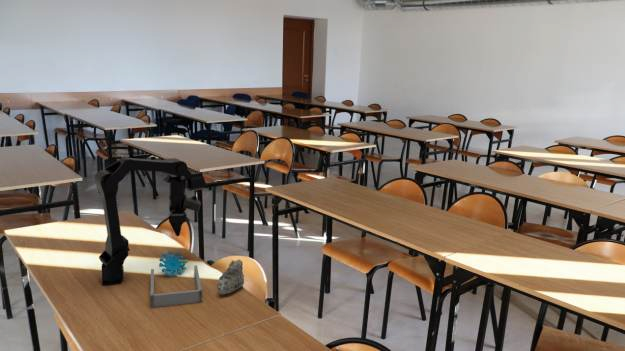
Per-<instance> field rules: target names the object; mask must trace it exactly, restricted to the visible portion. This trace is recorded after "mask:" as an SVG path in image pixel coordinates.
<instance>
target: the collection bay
mask: <svg viewBox="0 0 625 351" xmlns="http://www.w3.org/2000/svg"><path fill="white" fill-rule="evenodd" d="M193 267H194V268H193V274H194V275H193V276H194V281H195V288H196V290H195V289H194V290H183V291H174V292H163V293H155V269H154V268H151V269H150V291H149V292H150V296H149V297H150V308H158V307H168V306H170V307H171V306H178V305H188V304H195V303H203V289H202V283H201V279H200V274H199V269H198V265H197V264H196V265H194V266H193Z"/></svg>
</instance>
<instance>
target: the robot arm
mask: <svg viewBox="0 0 625 351" xmlns="http://www.w3.org/2000/svg"><path fill="white" fill-rule="evenodd" d="M130 171H140V172H141V171H144V172H158V173H165V174H167V176H166V177H165V178H163V182H165V183H167V184H168V187H169V191H168V192H169V198H168V199H169V202H168V210H169V213H168V223H169V224H170V226H171V228H172V230H173V232H174V235H175V236H176V237H180V234H181V230H182V226H183V224H184V223H186V222H187V221H188V220H187V219H188V218H187V212H186V211H187V209H188V210H190V211H194V212H196V213H198V212H199V210H200V207H201V205H202V203H201V201H200V200H199V199H198V196H196V195H194V194H193V195H192V196H191V197H187V194H186V190H187V191H189V192H191V191H198V190H204V189H205V188H206V185H207V184H206V183H207V182H206V180H205V177H204V173H203V172H201V171H196V172H191V171H190V170H189V168H188V164H187V163H186V162H185V161H184V160H180V158H179V159H178V158H176V157H173V158H172V157H171V158H165V159H160V160H159V159H145V158H134V157H133V158H132V157H127V156H123V157H121V158H120V159H118V160H117V161H115V162H114V163H112V164H110V165H109V166H107V167H105V168H104V169H101V170H99V171H97V172H96V173H95V174H94V177H93V178H94V183H95V186H96V188H97V191H98V193H99V194H100V197H101V200H102V206H103V208H102V209H103V213H104V214H103V215H104V220H105V221H104V222H105V226H106V227H105V228H106V233H107V237H106V239H105V245H104V246H105V248H104V250H103V252H102V253H101V254H100V255H99V256H98V259H99V260H100V262H101V263H102V264H101V268H100V269H101V279H102V280H101V285H102V286H106V285H107V286H108V285H117V284H122V283H123V280H124V278H125V271H124V269H125V268H124V263H125V261H126V259H127V257H128V256H129V252H130V251H131V250H130V247H129V244H130V243H129V239H127V238H126V236H124V235H122V231H121V224H120V217H119V209H118V202H117V195H118V191H119V183H120V182H122V180H123V181H124V179H125V177H126V176H127V175H128V173H129V172H130Z"/></svg>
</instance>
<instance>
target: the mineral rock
mask: <svg viewBox="0 0 625 351" xmlns="http://www.w3.org/2000/svg"><path fill="white" fill-rule="evenodd" d="M243 264H244V263H243V261H242V260H241V259H236V260H231V262H230V263H229V264H228V267H227V268H226V270H225V271H224V272H223V273H222V274H221V275H220V276H219V278H218V280H217V282H216V287H217V292H218V293H219V294H220V295H225V294H230V293H233V292H234V291H237V290H238V289H240V288H241V287H242V286H244V284H245V275H244V273H243V268H244V267H243Z"/></svg>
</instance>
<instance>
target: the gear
mask: <svg viewBox="0 0 625 351" xmlns="http://www.w3.org/2000/svg"><path fill="white" fill-rule="evenodd" d="M172 254H173V251H172V250H169V251H168V253H167V252H164V253H162V256H161V257H160V258H159V259H158V260H159V264H158V266H159V268H162V267H163V268H162V269H161V272H162V273H165V272H166V271H168V272H167V273H166V276H168V277H170V276H171V275H172V276H173V277H177V275H182V274H184V273H183V271H184V270H185V269H186V266H185V265H186V264H188V262H189V259H185V260H183V259H184V256H183V255H180V256H178V255H179V252H178V251H175V252H174V254H173V255H172ZM167 255H168V256H167ZM177 256H178V257H177ZM177 271H178V273H177ZM172 272H174V273H173V274H171V273H172Z"/></svg>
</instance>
